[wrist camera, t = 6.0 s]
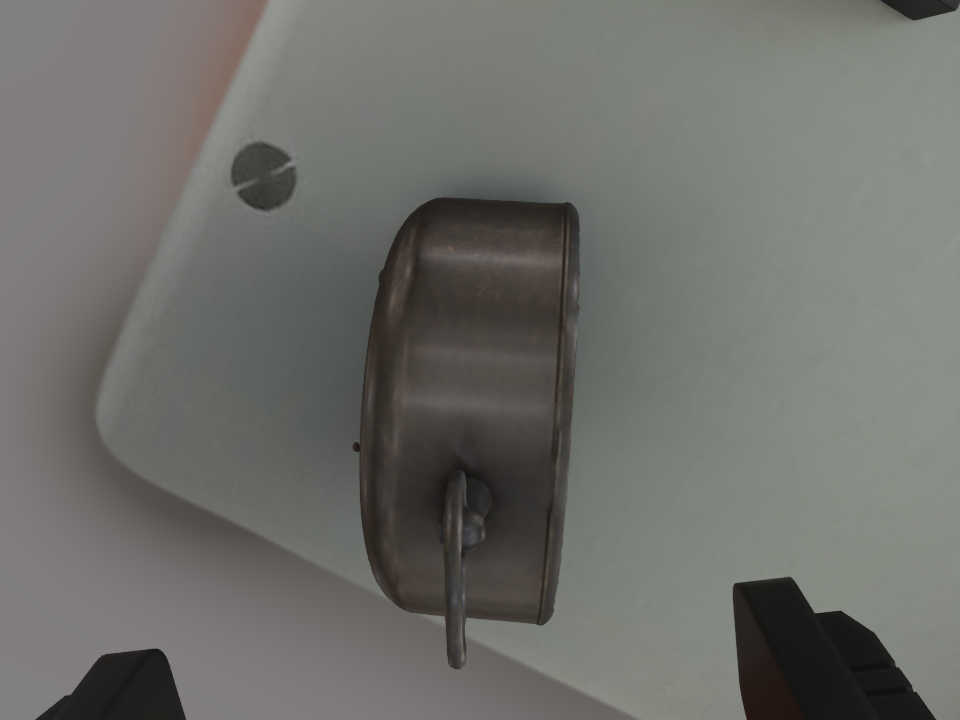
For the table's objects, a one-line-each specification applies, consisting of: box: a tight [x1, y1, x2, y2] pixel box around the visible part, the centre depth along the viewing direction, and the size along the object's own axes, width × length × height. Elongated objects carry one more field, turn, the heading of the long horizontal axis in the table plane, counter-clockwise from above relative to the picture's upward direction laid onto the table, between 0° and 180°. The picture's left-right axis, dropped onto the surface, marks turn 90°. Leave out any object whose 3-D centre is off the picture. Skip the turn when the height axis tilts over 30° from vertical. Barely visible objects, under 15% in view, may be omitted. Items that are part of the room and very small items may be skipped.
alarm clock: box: [353, 198, 580, 669], centre depth 20 cm, size 11×5×16 cm, turn 177°
